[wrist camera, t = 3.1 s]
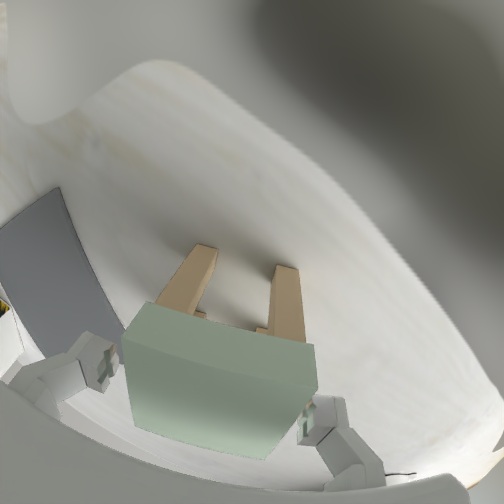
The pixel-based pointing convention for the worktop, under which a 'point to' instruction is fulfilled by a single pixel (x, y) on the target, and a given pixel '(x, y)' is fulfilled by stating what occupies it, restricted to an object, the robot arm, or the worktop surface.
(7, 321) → the medicine bottle
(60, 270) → the mat
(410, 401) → the worktop surface
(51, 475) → the robot arm
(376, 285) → the worktop surface
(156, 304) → the stool
